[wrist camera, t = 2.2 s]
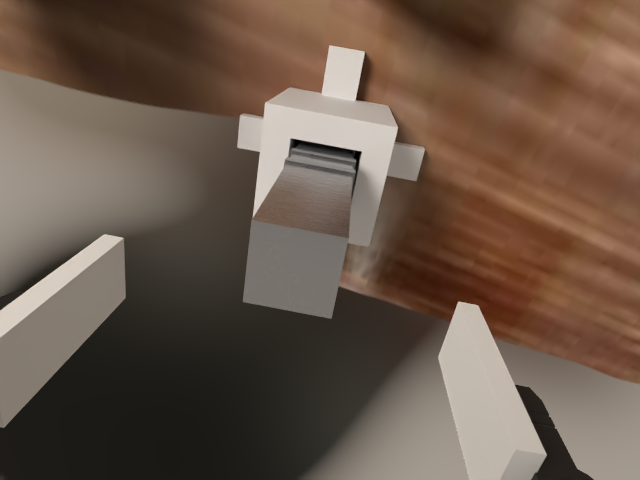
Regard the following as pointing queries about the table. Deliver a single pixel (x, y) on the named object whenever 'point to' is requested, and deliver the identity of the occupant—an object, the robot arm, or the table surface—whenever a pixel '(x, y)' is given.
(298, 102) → the housing
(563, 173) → the table surface
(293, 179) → the post
